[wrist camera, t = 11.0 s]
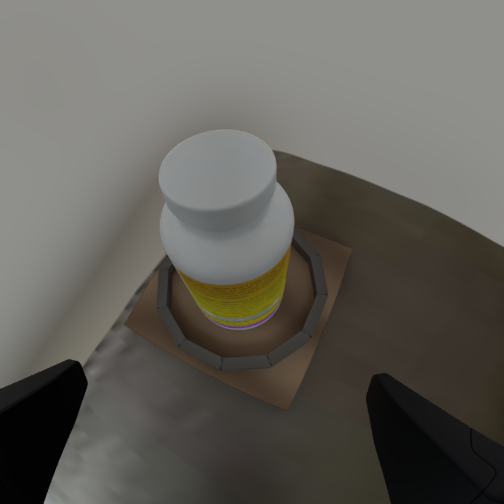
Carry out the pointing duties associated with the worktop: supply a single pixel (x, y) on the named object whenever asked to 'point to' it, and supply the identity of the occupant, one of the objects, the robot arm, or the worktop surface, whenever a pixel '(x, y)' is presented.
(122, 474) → the worktop surface
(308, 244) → the locating board
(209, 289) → the supplement bottle
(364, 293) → the worktop surface
